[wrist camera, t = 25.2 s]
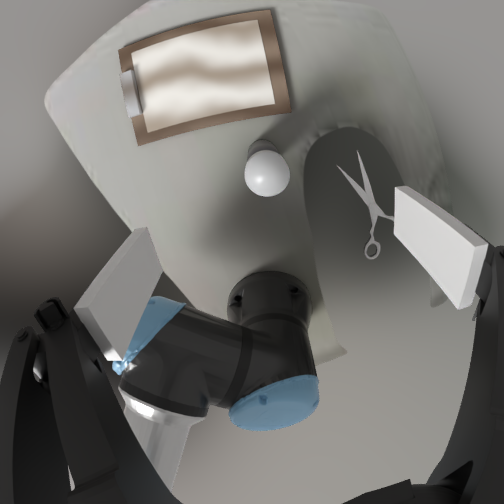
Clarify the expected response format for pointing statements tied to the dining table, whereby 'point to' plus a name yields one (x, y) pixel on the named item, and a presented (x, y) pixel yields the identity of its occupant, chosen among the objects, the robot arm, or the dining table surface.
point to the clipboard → (204, 76)
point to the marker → (266, 169)
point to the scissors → (372, 208)
